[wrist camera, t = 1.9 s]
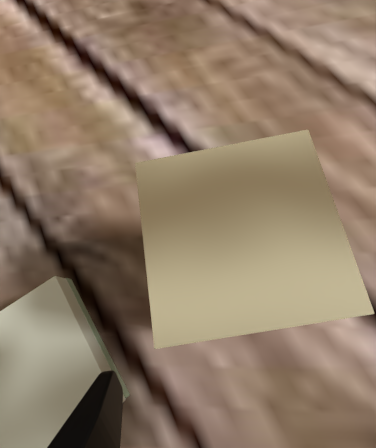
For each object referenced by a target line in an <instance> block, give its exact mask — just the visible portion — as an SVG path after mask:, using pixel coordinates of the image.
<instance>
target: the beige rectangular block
mask: <svg viewBox="0 0 376 448" xmlns="http://www.w3.org/2000/svg"><path fill="white" fill-rule="evenodd" d="M135 167H136V177H137V186H138V196H139V205H140V215H141V225H142V234H143V244H144V253H145V263H146V272H147V282H148V292H149V301H150V311H151V320H152V330H153V340H154V349H158V348H165V347H171V346H177V345H183V344H189V343H196V342H202V341H208V340H214V339H220V338H227V337H233V336H239V335H245V334H252V333H258V332H264V331H270V330H276V329H283V328H289V327H295V326H301V325H307V324H314V323H320V322H326V321H332V320H339V319H345V318H351V317H357V316H363V315H370V314H374V311H373V308H372V305H371V303H370V300H369V297H368V294H367V291H366V289H365V286H364V283H363V280H362V278H361V275H360V272H359V269H358V266H357V264H356V261H355V258H354V255H353V253H352V250H351V247H350V244H349V242H348V239H347V236H346V233H345V230H344V228H343V225H342V222H341V219H340V217H339V214H338V211H337V208H336V205H335V203H334V200H333V197H332V194H331V192H330V189H329V186H328V183H327V181H326V178H325V175H324V172H323V169H322V167H321V164H320V161H319V158H318V156H317V153H316V150H315V147H314V144H313V142H312V139H311V136H310V133H309V131H308V130H304V131H299V132H294V133H289V134H283V135H278V136H273V137H268V138H263V139H258V140H252V141H247V142H242V143H237V144H232V145H226V146H221V147H216V148H211V149H206V150H201V151H195V152H190V153H185V154H180V155H175V156H169V157H164V158H159V159H154V160H149V161H144V162H138V163H135Z"/></svg>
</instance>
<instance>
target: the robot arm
mask: <svg viewBox="0 0 376 448" xmlns="http://www.w3.org/2000/svg"><path fill="white" fill-rule="evenodd" d="M122 405H123V389H122V385H121V383H120V381H119V379H118V376H117V374H116V372H115V371H113V370H111V371H104V372H101V373H100V374H99V375H98V376H97V378H96V379H95V381H94V382H93V383H92V385H91V386H90V388H89V389H88V390H87V392H86V393H85V395H84V396H83V397H82V399H81V400H80V402H79V403H78V405H77V406H76V407H75V409H74V410H73V412H72V413H71V414H70V416H69V417H68V419H67V420H66V421H65V423H64V424H63V426H62V427H61V429H60V430H59V431H58V433H57V434H56V436H55V437H54V438H53V440H52V441H51V443H50V444H49V445H48V447H47V448H120V439H121V422H122Z"/></svg>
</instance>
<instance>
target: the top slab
mask: <svg viewBox="0 0 376 448" xmlns="http://www.w3.org/2000/svg"><path fill="white" fill-rule="evenodd" d="M104 371H111V368H110V366H109V364H108V362H107V360H106V358H105V356H104V354H103V352H102V350H101V348H100V346H99V344H98V342H97V340H96V338H95V336H94V334H93V332H92V330H91V328H90V326H89V324H88V322H87V320H86V317H85V315H84V313H83V311H82V309H81V307H80V305H79V303H78V301H77V299H76V297H75V295H74V293H73V291H72V289H71V287H70V285H69V283H68V281H67V279H65V278H62V277H58V276H54V277H52V278H51V279H49V280H48V281H46V282H44V283H43V284H41V285H40V286H38V287H37V288H35V289H34V290H32V291H31V292H29V293H28V294H26V295H25V296H23V297H21V298H20V299H18V300H17V301H15V302H14V303H12V304H11V305H9V306H8V307H6V308H5V309H3V310H2V311H0V448H47V447H48V445H49V444H50V443H51V441H52V440H53V438H54V437H55V436H56V434H57V433H58V431H59V430H60V429H61V427H62V426H63V424H64V423H65V421H66V420H67V419H68V417H69V416H70V414H71V413H72V412H73V410H74V409H75V407H76V406H77V405H78V403H79V402H80V400H81V399H82V397H83V396H84V395H85V393H86V392H87V390H88V389H89V388H90V386H91V385H92V383H93V382H94V381H95V379H96V378H97V376H98V375H99V374H100V373H101V372H104ZM125 400H126V398H125V396H124V394H123V402H124V401H125Z"/></svg>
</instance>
